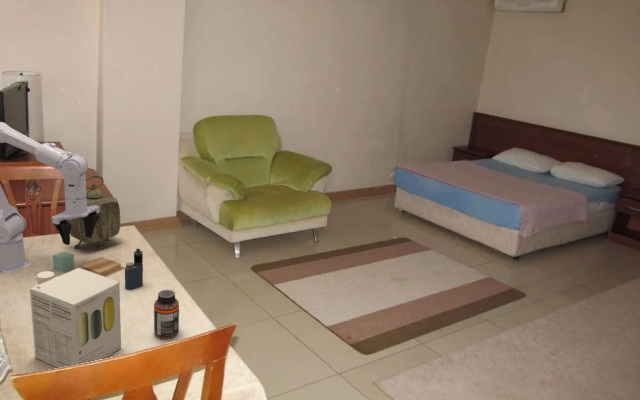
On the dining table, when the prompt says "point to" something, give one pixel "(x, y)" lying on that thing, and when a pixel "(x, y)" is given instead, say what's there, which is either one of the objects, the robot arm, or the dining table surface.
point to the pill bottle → (44, 277)
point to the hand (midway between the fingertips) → (77, 240)
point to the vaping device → (134, 272)
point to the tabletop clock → (107, 217)
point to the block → (63, 261)
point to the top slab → (101, 266)
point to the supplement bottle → (166, 315)
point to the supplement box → (76, 318)
